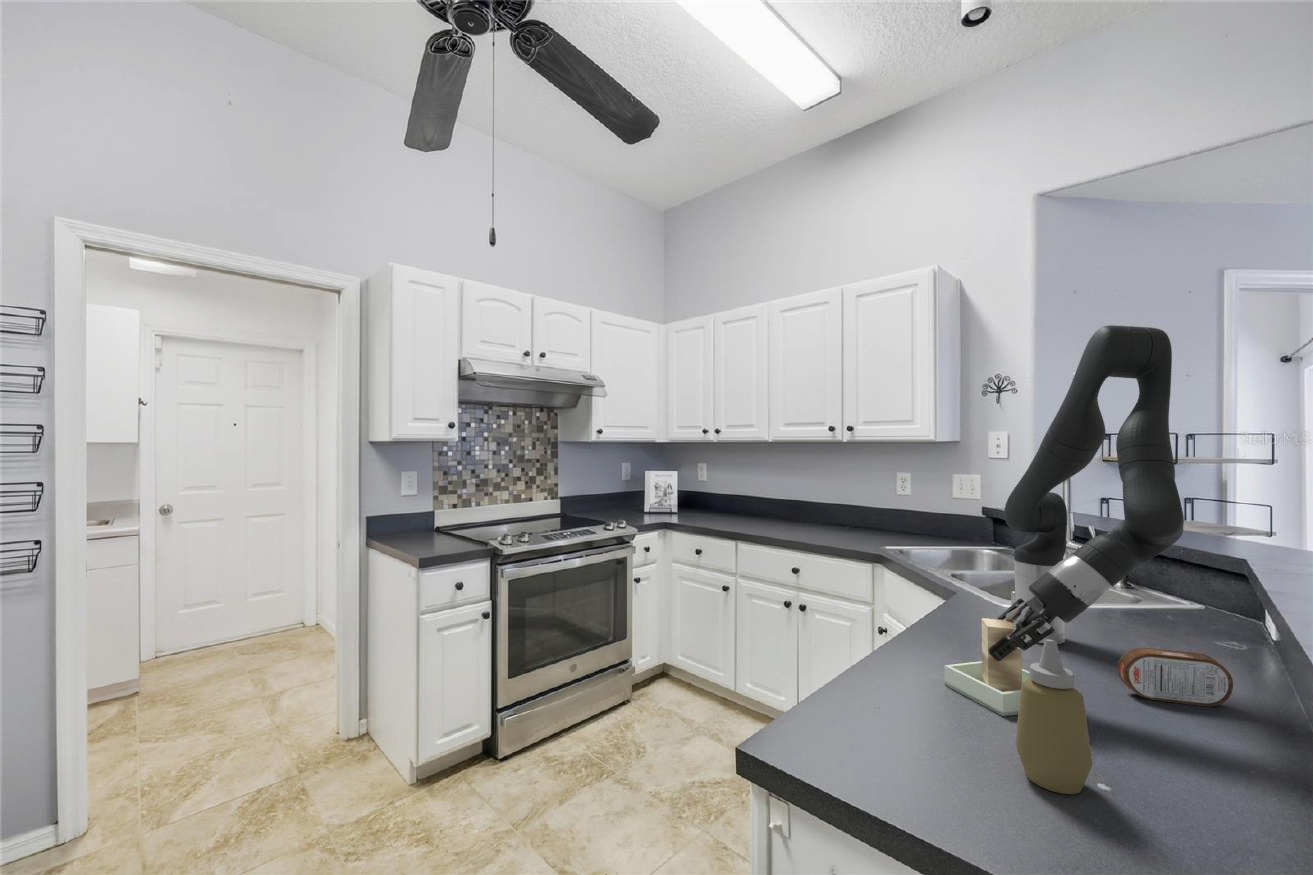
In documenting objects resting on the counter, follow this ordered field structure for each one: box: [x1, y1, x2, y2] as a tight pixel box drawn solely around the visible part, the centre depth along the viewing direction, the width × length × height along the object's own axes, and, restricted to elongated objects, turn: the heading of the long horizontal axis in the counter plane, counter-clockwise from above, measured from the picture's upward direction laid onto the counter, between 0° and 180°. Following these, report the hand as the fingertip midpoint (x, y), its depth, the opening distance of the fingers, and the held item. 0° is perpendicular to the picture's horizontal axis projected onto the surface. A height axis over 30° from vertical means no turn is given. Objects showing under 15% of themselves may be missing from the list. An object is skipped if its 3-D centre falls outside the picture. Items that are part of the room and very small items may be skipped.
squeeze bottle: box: [1015, 639, 1094, 795], centre depth 71 cm, size 8×8×18 cm
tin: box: [1116, 646, 1234, 707], centre depth 94 cm, size 15×3×8 cm, turn 71°
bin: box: [943, 660, 1030, 717], centre depth 96 cm, size 12×12×4 cm
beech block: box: [981, 617, 1023, 692], centre depth 96 cm, size 5×5×11 cm
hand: (989, 650), depth 97 cm, fingers open, 5 cm apart
